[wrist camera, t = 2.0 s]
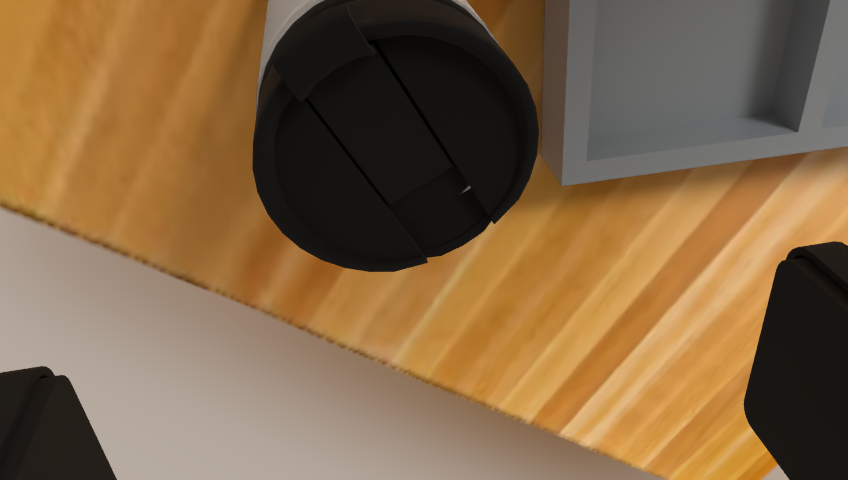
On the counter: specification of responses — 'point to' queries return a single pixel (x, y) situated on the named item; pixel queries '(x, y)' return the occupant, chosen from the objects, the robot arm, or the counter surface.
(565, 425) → the counter surface
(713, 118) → the grey compartment tray
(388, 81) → the travel mug
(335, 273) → the counter surface
